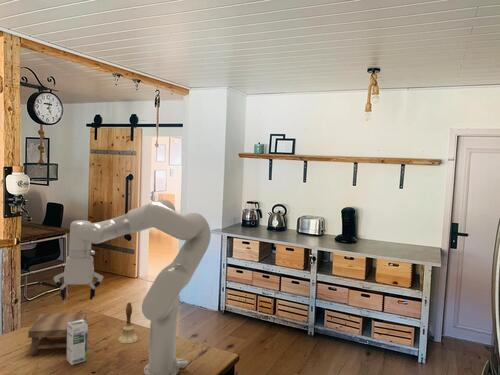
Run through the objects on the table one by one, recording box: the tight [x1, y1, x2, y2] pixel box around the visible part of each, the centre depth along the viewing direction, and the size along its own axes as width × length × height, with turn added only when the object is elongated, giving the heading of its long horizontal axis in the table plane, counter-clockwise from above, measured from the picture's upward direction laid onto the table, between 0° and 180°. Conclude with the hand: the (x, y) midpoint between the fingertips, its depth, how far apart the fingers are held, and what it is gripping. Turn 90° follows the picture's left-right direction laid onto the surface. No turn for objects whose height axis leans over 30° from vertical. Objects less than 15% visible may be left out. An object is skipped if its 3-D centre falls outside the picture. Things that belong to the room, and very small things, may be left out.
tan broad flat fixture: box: [27, 312, 87, 357], centre depth 161 cm, size 18×18×10 cm
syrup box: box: [66, 319, 89, 366], centre depth 149 cm, size 6×6×14 cm
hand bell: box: [117, 302, 139, 345], centre depth 169 cm, size 8×8×16 cm
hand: (77, 298), depth 149 cm, fingers open, 9 cm apart
